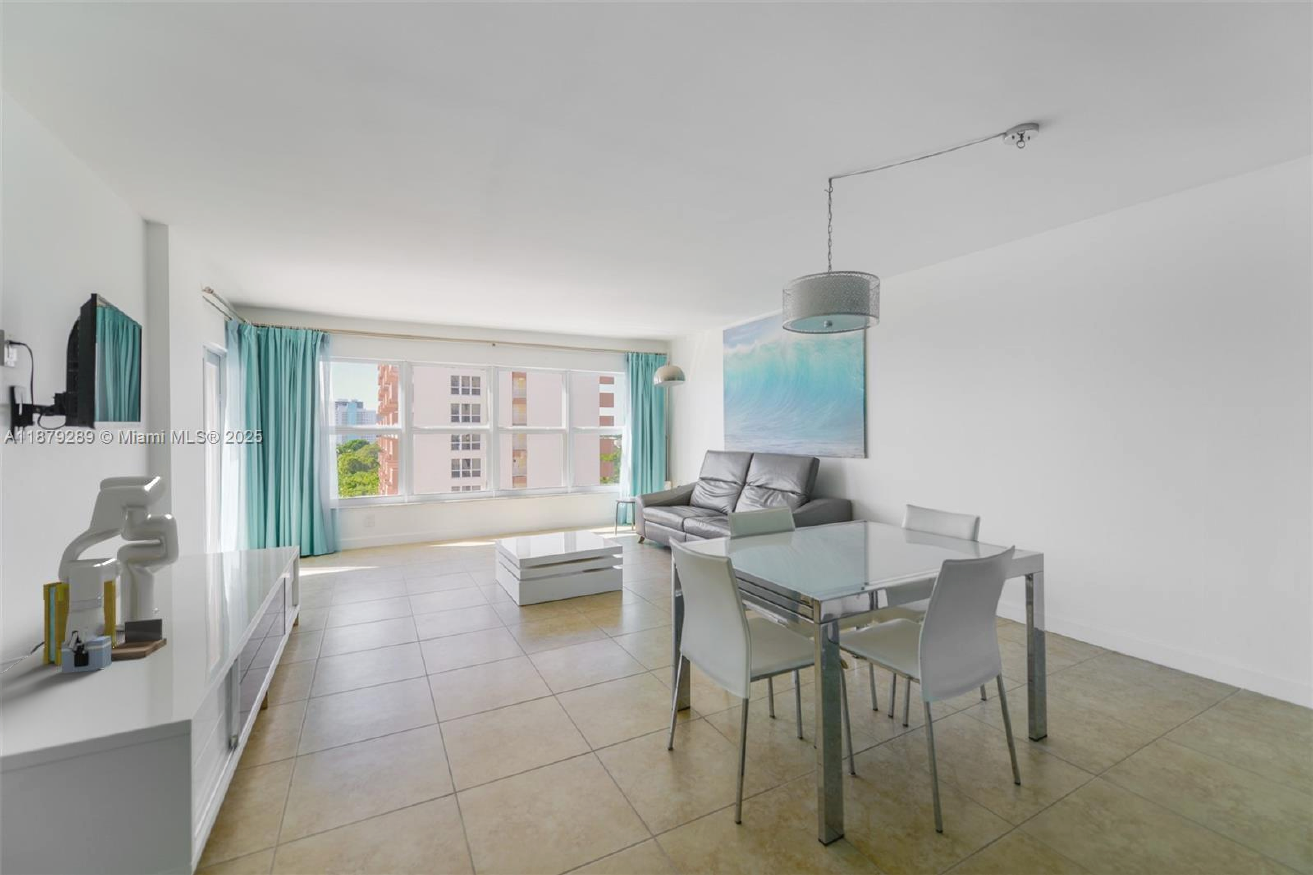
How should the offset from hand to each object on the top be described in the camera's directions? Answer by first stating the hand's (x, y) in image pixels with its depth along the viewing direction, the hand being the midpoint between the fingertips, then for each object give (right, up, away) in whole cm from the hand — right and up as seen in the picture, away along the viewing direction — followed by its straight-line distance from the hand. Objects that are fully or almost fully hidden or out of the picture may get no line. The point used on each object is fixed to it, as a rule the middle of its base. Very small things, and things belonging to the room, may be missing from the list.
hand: (86, 662), depth 171 cm
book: (-13, -2, +12) cm, 17 cm away
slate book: (0, -2, 0) cm, 2 cm away
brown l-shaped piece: (+2, -2, +13) cm, 14 cm away
